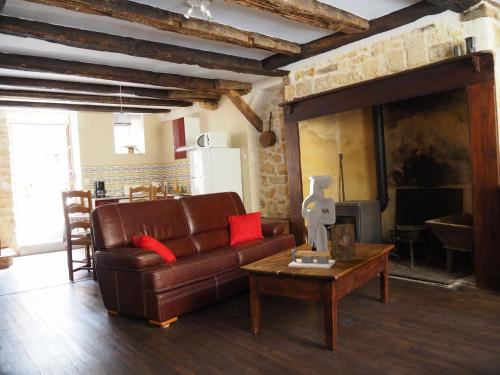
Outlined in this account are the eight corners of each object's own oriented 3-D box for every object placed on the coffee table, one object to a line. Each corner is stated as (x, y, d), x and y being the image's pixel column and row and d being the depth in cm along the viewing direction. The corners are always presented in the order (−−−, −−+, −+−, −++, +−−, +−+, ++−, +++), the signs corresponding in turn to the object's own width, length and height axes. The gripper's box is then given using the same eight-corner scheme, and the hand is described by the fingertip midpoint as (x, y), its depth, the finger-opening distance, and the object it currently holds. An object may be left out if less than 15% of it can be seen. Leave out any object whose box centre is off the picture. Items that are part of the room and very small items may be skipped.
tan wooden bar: (293, 255, 289) (292, 249, 289) (330, 256, 279) (330, 250, 279) (291, 256, 286) (291, 250, 286) (329, 257, 275) (328, 251, 275)
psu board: (296, 261, 296) (295, 253, 296) (335, 262, 285) (334, 254, 285) (288, 266, 279) (288, 258, 279) (329, 268, 268) (329, 259, 268)
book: (353, 258, 295) (351, 223, 294) (357, 259, 289) (355, 224, 288) (331, 260, 291) (330, 225, 291) (335, 262, 286) (333, 226, 285)
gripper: (310, 225, 293) (311, 250, 293) (304, 228, 279) (306, 255, 280) (320, 225, 290) (322, 251, 291) (315, 228, 276) (317, 255, 277)
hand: (314, 253), depth 285 cm, fingers closed
